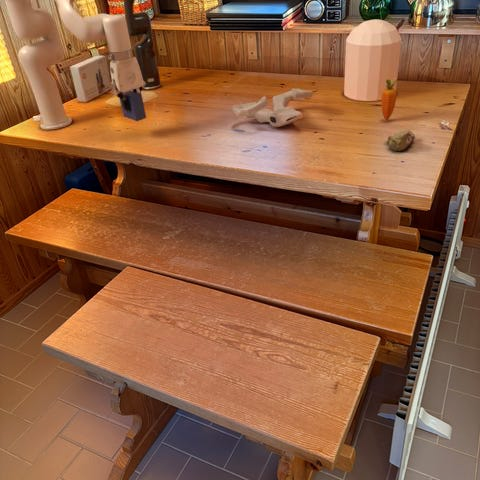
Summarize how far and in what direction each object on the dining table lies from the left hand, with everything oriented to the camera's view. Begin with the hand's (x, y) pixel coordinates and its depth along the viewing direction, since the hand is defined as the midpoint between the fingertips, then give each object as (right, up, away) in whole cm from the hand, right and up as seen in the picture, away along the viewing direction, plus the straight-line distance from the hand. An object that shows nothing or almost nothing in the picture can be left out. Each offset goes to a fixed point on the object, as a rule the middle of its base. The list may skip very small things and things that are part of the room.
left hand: (132, 107), depth 167 cm
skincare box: (-30, +22, +55) cm, 66 cm away
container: (+93, +13, +25) cm, 97 cm away
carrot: (+91, -5, -2) cm, 92 cm away
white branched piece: (+54, -5, +4) cm, 54 cm away
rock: (+91, -18, -20) cm, 94 cm away
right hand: (+26, +59, +35) cm, 73 cm away
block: (0, -3, +2) cm, 4 cm away
